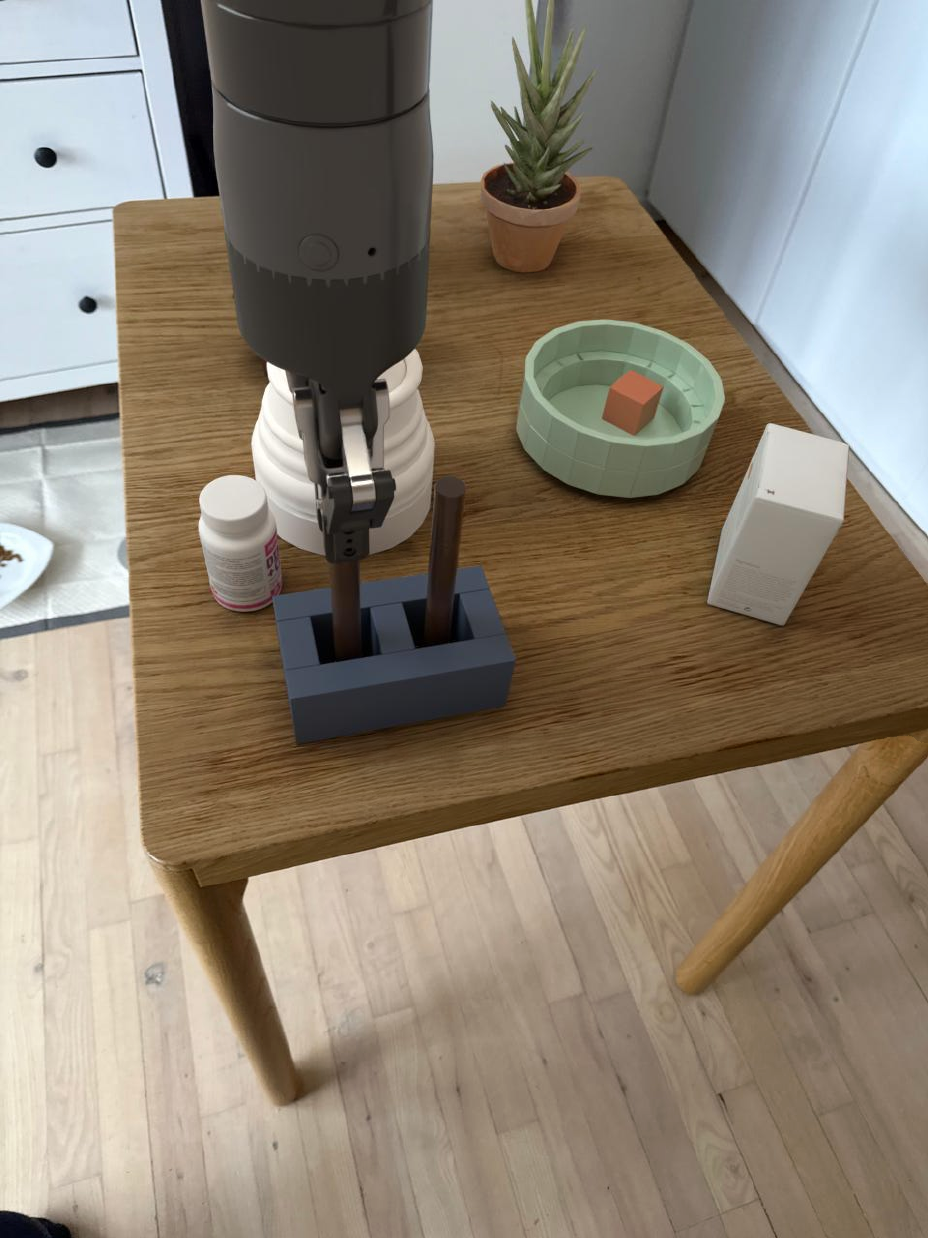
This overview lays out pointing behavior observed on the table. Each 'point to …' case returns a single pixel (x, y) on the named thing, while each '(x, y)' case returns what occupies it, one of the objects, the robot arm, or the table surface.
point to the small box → (780, 523)
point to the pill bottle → (239, 543)
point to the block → (632, 402)
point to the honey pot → (403, 456)
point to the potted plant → (536, 158)
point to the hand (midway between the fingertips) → (343, 540)
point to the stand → (392, 658)
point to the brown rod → (346, 610)
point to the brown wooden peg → (443, 559)
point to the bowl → (576, 396)
